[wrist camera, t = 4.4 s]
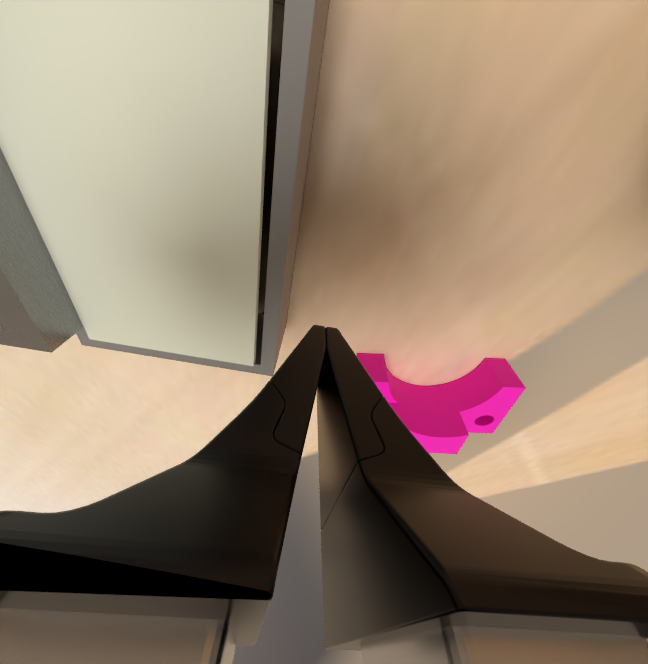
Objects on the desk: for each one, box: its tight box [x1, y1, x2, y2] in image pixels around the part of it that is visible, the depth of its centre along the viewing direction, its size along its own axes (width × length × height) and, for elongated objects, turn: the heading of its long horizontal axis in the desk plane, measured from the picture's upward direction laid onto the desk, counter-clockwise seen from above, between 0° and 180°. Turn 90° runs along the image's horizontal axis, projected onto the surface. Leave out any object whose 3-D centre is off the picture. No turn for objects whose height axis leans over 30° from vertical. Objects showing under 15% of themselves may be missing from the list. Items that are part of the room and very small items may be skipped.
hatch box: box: [76, 0, 330, 376], centre depth 16 cm, size 14×21×6 cm, turn 169°
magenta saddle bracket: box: [357, 353, 525, 454], centre depth 27 cm, size 15×6×8 cm
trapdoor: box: [0, 0, 273, 366], centre depth 12 cm, size 14×18×3 cm
